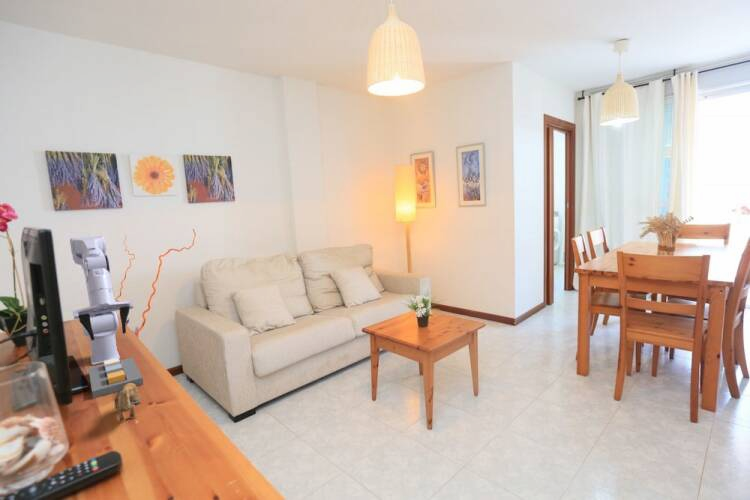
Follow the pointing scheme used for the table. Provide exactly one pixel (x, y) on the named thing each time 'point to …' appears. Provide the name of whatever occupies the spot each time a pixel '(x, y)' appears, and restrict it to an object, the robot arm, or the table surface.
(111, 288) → the robot arm
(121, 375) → the orange button
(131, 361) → the button board
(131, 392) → the lion figurine
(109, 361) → the cream button
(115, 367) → the slate-blue button
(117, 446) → the table surface
